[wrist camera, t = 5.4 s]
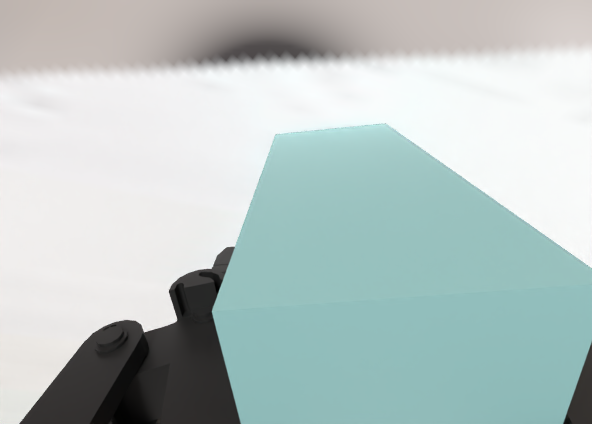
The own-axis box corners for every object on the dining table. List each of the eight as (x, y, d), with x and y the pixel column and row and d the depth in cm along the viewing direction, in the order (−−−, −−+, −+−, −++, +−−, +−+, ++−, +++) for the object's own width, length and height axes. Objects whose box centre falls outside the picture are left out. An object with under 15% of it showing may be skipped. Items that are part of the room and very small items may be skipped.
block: (292, 275, 17) (279, 589, 7) (274, 134, 14) (205, 318, 4) (385, 269, 16) (514, 584, 6) (386, 123, 13) (625, 288, 4)
